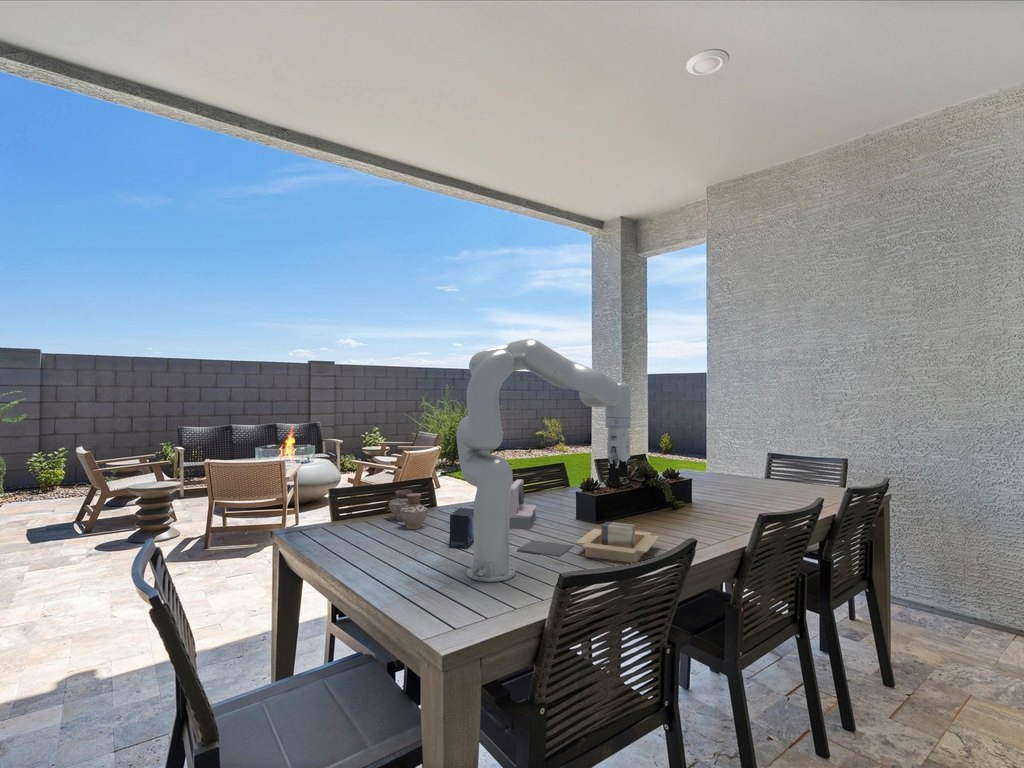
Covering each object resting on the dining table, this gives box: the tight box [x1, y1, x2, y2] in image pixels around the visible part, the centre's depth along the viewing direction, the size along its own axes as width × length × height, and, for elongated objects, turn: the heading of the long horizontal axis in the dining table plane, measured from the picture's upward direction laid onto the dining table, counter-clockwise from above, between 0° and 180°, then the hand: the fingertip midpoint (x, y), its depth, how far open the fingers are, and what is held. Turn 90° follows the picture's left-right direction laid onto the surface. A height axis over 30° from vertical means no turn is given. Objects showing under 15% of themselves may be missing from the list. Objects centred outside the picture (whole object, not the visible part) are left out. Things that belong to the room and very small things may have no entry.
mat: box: [516, 539, 575, 558], centre depth 166 cm, size 12×14×1 cm
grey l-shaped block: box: [509, 478, 537, 530], centre depth 202 cm, size 21×21×15 cm
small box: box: [448, 507, 474, 549], centre depth 172 cm, size 11×6×10 cm, turn 168°
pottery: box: [388, 489, 428, 530], centre depth 200 cm, size 11×25×12 cm, turn 26°
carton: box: [575, 528, 660, 564], centre depth 163 cm, size 24×21×4 cm
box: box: [601, 521, 636, 548], centre depth 163 cm, size 5×9×8 cm, turn 64°
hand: (618, 479), depth 164 cm, fingers open, 9 cm apart
